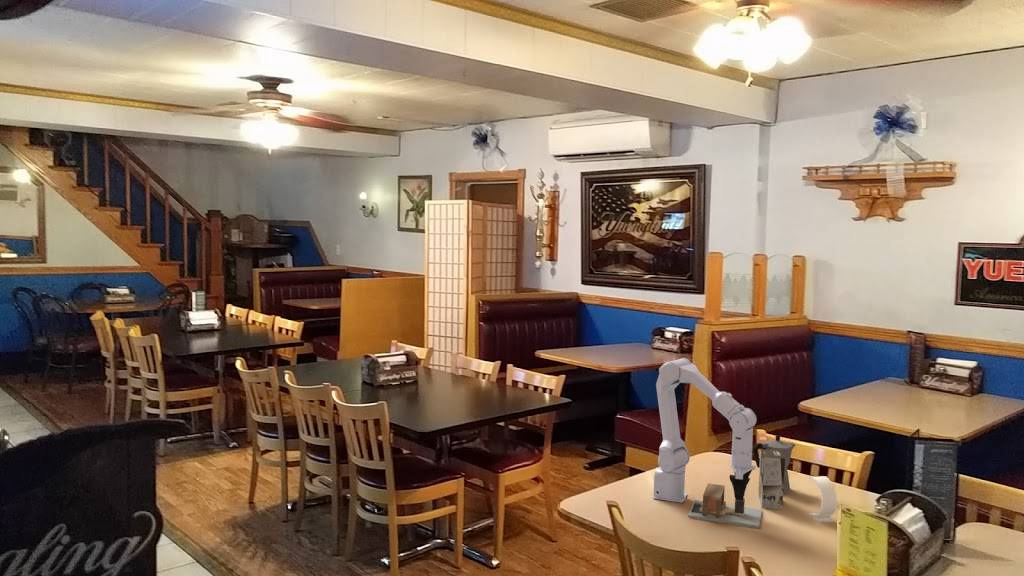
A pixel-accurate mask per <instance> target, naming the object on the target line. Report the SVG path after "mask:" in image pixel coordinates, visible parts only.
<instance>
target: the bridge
mask: <svg viewBox="0 0 1024 576" xmlns="http://www.w3.org/2000/svg"><path fill="white" fill-rule="evenodd" d="M725 487H726V485H722V484H716V483H707V485H706V487H705V490H704V493H703V495H702V501H703V511H702V516H707V502H708V499H714V500H716V518H720V511H721V505H723V502H724V501H725Z"/></svg>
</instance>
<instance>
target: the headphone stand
mask: <svg viewBox="0 0 1024 576" xmlns="http://www.w3.org/2000/svg"><path fill="white" fill-rule="evenodd" d="M811 481H813V483H815V484H816V486H817V488H818V491H819V494H820V498H821V502H820V509H819V510H818V512H813V513H812V512H811V513H809V517H810V518H812V519H813V520H814V521H817V522H818V523H820V524H821V523H833V522H835V519H834V518H833V517H832V516H833V515H834V514H835V512H836V510H837V506H838V496H837V492H836V489H835V487H834V486H835V485H834V484H833V483H832V481H831V480H830V478H829V477H828V476H826V475H825V476H824V475H823V476H822V475H820V476H812V477H811Z"/></svg>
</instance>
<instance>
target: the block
mask: <svg viewBox="0 0 1024 576" xmlns="http://www.w3.org/2000/svg"><path fill="white" fill-rule="evenodd" d="M707 509H708V510H715V511H716V500H714V499H708V502H707Z"/></svg>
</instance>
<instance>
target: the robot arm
mask: <svg viewBox="0 0 1024 576" xmlns="http://www.w3.org/2000/svg"><path fill="white" fill-rule="evenodd" d="M658 373H659V374H658V377H657V380H656V383H655V387H656V393H657V394H656V397H657V404H658V410H659V411H658V412H659V418H660V419H659V420H660V427H661V434H662V442H661V443H660V446H659V448H658V450H659V451H658V452H659V455H658V458H657V463H658V466H659V467H655V470H654V476H653V496H652V498H653V499H655V500H662V501H669V502H675V503H680V504H681V503H685V499H686V498H687V496H688V493H687V492H685V487H686V485H685V484H686V467H687V466H686V465H688V463H690V458H691V455H690V453H689V451H688V449H687V447H686V446H687V445H686V442H685V441H684V440H683V439H682V438H681V433H680V431H681V430H680V424H679V422H680V421H679V416H678V410H677V402H676V401H677V399H676V393H675V389H676V388H677V387H678V386H679V385H680V384H691V385H693V386H694V387H695V388H697V390H699V391H700V392H702V393H703V394H704V395H705V396H706V397H708V399H710V400H711V404H712V407H713V408H714V409H716V410H717V411H718V412H719V413H720V414H721V415H722V416H723V417H725V418H726V419H727V420H728V424H729V426H730V428H731V430H732V435H731V436H732V438H731V439H732V443H731V462H730V468H731V469H732V470H733V472H734V474H729V481H730V482H731V486H732V488H733V494H734V495H733V496H734V501H735V500H741V501H743V498H745V494H746V493H745V492H746V490H747V486H748V485H749V483H750V480H751V478H750V475H751V473H752V471H756V468H757V465H752V463H753V441H754V439H753V437H754V436H753V435H754V434H753V433H754V428H753V427H755V425H756V424H757V419H758V418H757V415H756V414H755V412H754V411H753V410H752V408H748V407H745V406H744V405H743V404H740V402H738V401H737V400H735V399H734V398H733V395H732V394H731V393H730V392H727V391H720V390H719V389H717V387H715V386H714V384H713V383H711V381H709V379H708V378H707V377H706V376H705V375H704V374H703V373H701V372H700V370H699V368H697V366H696V365H695V364H694V363H692V362H691V361H690V360H689V359H688V358H685V357H682V358H679V359H675V360H672V361H666V362H664V363H663V364H662V365H661V366H660V367H659V368H658Z"/></svg>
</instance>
